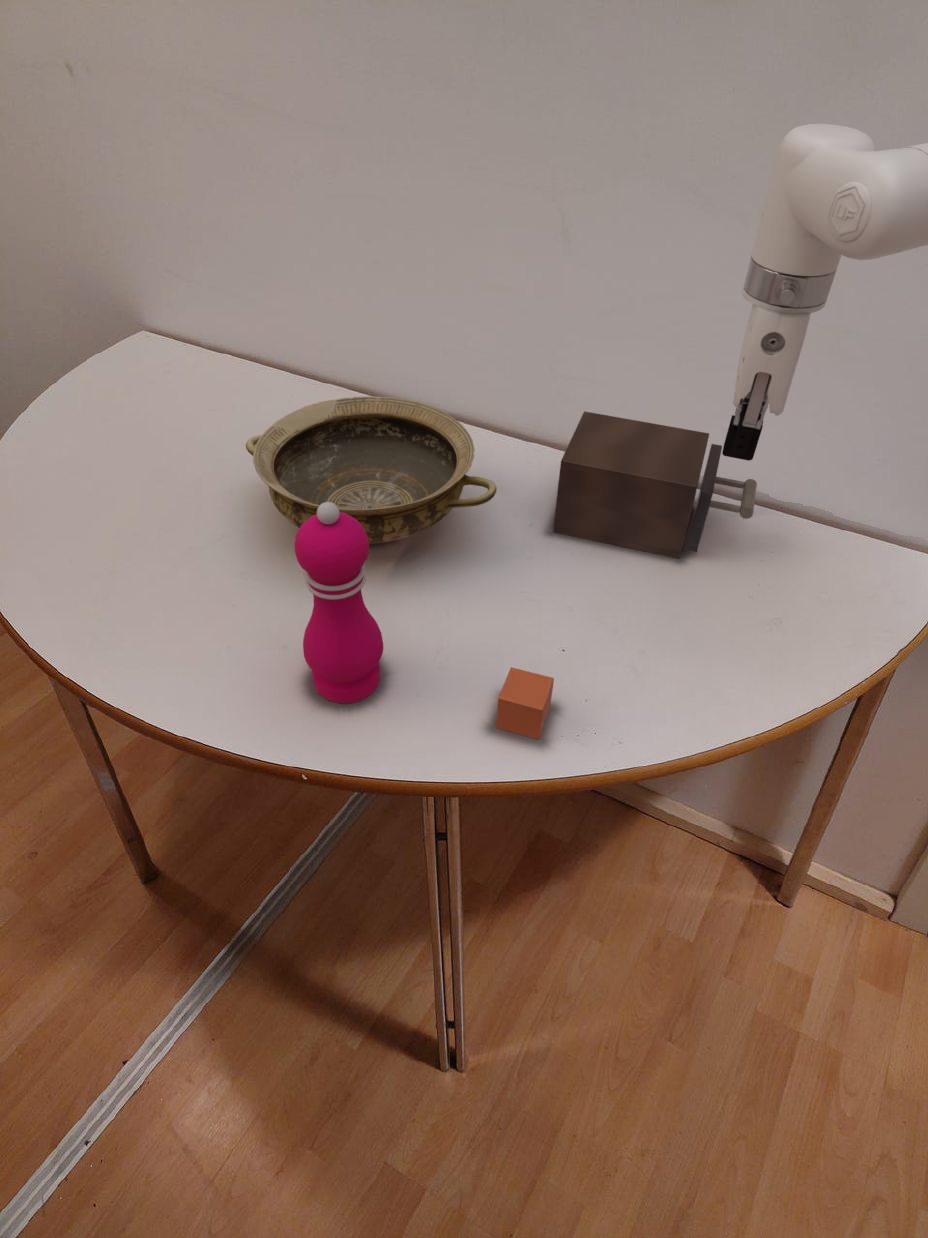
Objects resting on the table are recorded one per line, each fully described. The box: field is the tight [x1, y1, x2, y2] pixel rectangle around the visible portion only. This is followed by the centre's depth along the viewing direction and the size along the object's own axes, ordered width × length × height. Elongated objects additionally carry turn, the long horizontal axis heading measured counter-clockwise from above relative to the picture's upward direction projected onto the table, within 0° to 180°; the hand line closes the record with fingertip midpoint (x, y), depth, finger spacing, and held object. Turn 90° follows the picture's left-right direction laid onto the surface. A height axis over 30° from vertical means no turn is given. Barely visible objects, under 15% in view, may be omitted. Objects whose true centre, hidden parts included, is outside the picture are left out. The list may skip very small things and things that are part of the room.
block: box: [495, 666, 555, 740], centre depth 73 cm, size 4×4×4 cm
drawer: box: [685, 443, 758, 553], centre depth 93 cm, size 18×10×8 cm, turn 71°
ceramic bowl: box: [245, 395, 497, 545], centre depth 93 cm, size 30×24×10 cm
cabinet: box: [552, 410, 710, 559], centre depth 94 cm, size 15×12×10 cm
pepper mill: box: [294, 502, 384, 704], centre depth 71 cm, size 7×7×20 cm
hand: (737, 454), depth 88 cm, fingers closed
